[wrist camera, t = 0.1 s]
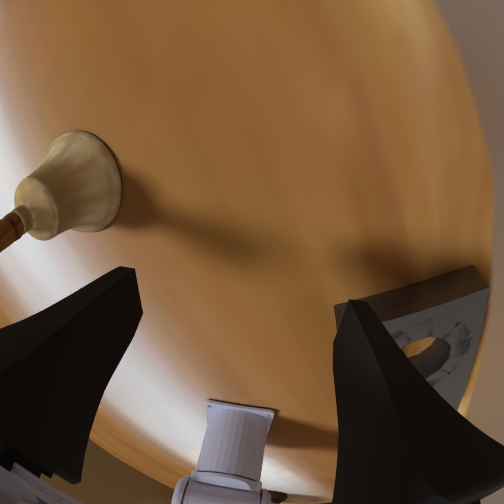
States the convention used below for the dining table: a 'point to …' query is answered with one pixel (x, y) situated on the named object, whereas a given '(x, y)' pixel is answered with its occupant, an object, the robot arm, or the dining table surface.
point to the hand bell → (66, 191)
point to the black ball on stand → (277, 497)
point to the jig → (436, 325)
